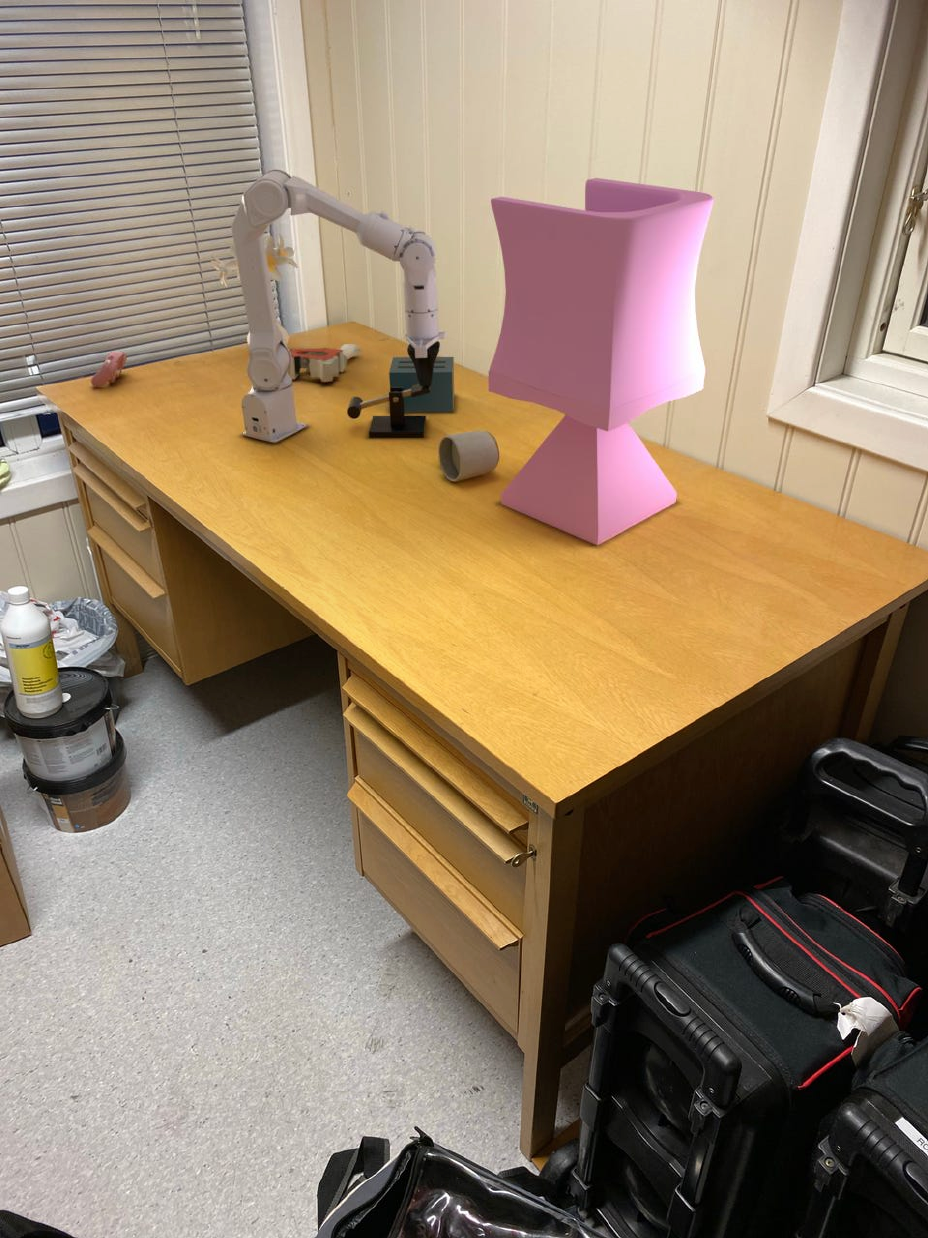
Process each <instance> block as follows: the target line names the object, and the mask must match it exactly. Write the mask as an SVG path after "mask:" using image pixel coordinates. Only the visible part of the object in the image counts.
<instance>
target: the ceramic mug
mask: <svg viewBox="0 0 928 1238" xmlns="http://www.w3.org/2000/svg"><path fill="white" fill-rule="evenodd" d="M437 454H438V461H439V462H438V463H439V466H440V468H441V471H442V473H443V474H444V476H445V477H446V479H447V480H448V481H451V482H454V483H456V482H459V481H463V480H467V479H471V478H474V477H477V476H482V475H486V474H488V473H491V472H492V471H494V470H496V468H497V466H498V464H499V461H500V449H499V445H498V441H497V440H496V438H495V437H494V436H493V434H492V433H491V432H490V431H488V430H472V431H467V432H459V433H452V434H446V435H444V436H442V438H441V439H440V440H439V443H438V450H437Z"/></svg>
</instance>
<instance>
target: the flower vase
mask: <svg viewBox="0 0 928 1238" xmlns="http://www.w3.org/2000/svg"><path fill="white" fill-rule="evenodd" d="M274 243H275V244H276V247H274ZM264 244H265V250H266V256H267V262H268V268H269V274H270V277H272V279H273V280H275V281H277V282H281V281H282V273H281V271H280V270H279V269H278V268H279V267H283V266H284V265H291V266H293V267H294V268H295V269H298V268H299V266H298V264H297V262H295V260H294V259H293V258H291V257H292V256H294V254H295V251H294V249H293V248H292V247H291V246H286V247H285V241H284V238H283V236H282V234H279V235H278V240H276V241H275V237H274V236H269V237H266V238H265V239H264ZM229 251H230V254H231V255H232V257H233V258H234V259H231V260H229V261H227V262H226V263H224V262H223V261H222V260H220V259H219V258H218V257H217V256H215V255H214V254H213V253H212V252H211V251H210V252H209V254H210V256H211V257H212V259H213V260H210V263H211V265H212V266H213V268H214V269H215V270H216V271H220V272H219V274H218V277H219V281H220V284H221V285H222V286H223V285H225V287H226V288H228V273H229V271H231V273H234V272H235V271H236V270H237V272H236V278H237V280H238V281H240V282H241V280H240V275H239V269H238V264H237V258H236V253H235V247H234V244H231V245H230V247H229ZM277 323H278V327H279V329H280V331H281V332H282V335H283V341H284V343H285V345H286V346H287V347H288V344H289V342H290V336H289V333H288V332H287V330H286V328H284V326H282V325H281V324H280V323H279V322H278V321H277ZM249 340H250V330H249V331H248V333H247V335H246V342H247V345H248V346H249Z"/></svg>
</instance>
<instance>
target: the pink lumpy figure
mask: <svg viewBox="0 0 928 1238" xmlns="http://www.w3.org/2000/svg"><path fill="white" fill-rule="evenodd" d="M127 360H128V354H127V353H126V352H123V351H120V350H117V349H115V351H112V352H110V353H108V354H107V355H106V357H105V360H104V362H103V364H102V366H101V367H100V368H99V370H98V371H97V372H95V374H94V375H92V377H91V379H90V383H91V385H92V386H93V387H94V388H100V387H103V386H104V385H106V384H107V383H111V384H114V382H115V381H116V379H118V378H119V377H120V376H121V375H122V373H123V372H122V370H123V368H124V367H125V365H126V363H127Z"/></svg>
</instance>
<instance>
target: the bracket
mask: <svg viewBox="0 0 928 1238" xmlns="http://www.w3.org/2000/svg"><path fill="white" fill-rule="evenodd" d="M394 391H399V392H394ZM401 391H403V387H390V386H389V391H388V395H389V402H388V403H389V404H388V405H389V415H373V416H372V419H371V422H370V426H369V430H368V438H369V439H424V438H425V432H426V425H427V415H405V414H406V413H405V412H404V397H402V392H401Z"/></svg>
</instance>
